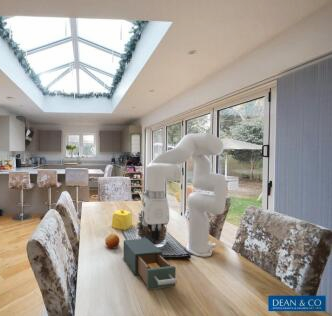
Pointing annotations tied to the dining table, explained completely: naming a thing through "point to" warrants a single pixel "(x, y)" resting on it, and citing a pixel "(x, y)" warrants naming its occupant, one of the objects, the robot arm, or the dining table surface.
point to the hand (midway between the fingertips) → (154, 239)
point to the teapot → (122, 219)
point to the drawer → (156, 271)
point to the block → (153, 265)
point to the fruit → (112, 241)
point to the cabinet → (138, 251)
